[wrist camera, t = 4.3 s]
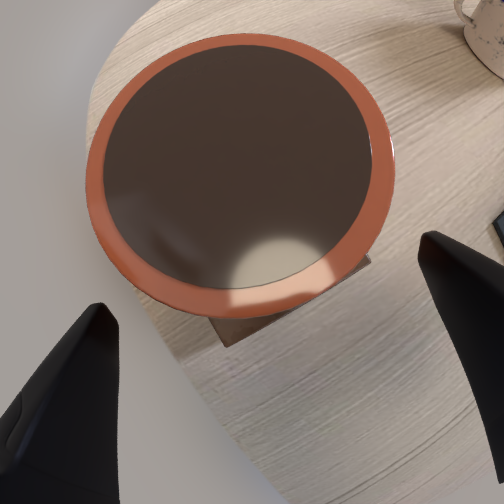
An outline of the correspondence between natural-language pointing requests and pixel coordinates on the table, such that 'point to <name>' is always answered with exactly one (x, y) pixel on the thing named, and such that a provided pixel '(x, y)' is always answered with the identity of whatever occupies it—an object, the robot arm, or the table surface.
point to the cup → (240, 176)
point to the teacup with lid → (485, 32)
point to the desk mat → (500, 226)
